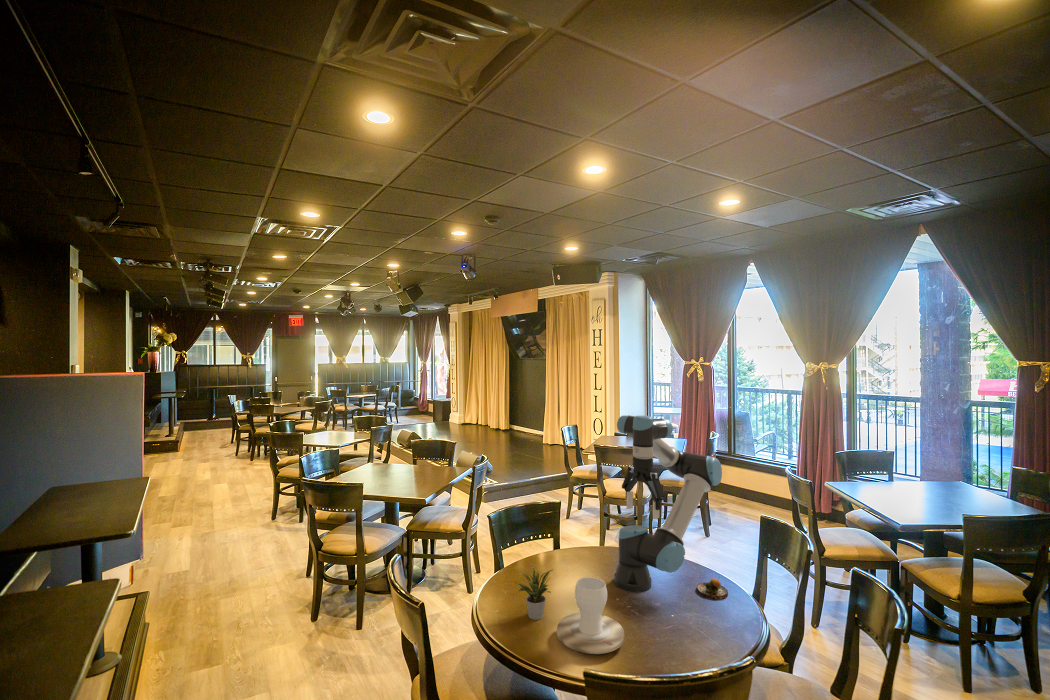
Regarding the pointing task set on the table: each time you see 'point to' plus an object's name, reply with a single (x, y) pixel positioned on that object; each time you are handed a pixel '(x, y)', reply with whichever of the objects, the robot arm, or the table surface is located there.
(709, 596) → the plate of food
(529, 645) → the table surface
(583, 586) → the cup
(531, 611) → the house plant
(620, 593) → the table surface
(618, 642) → the turntable platter
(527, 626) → the table surface
